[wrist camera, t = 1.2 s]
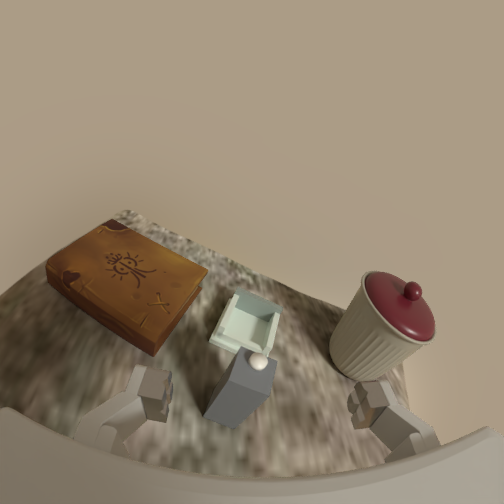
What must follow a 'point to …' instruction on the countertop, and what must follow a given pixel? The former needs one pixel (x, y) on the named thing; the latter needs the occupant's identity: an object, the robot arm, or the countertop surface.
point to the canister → (381, 327)
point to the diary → (127, 283)
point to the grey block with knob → (241, 388)
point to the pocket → (247, 323)
